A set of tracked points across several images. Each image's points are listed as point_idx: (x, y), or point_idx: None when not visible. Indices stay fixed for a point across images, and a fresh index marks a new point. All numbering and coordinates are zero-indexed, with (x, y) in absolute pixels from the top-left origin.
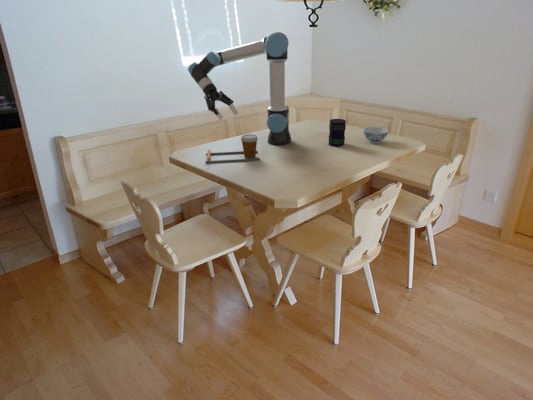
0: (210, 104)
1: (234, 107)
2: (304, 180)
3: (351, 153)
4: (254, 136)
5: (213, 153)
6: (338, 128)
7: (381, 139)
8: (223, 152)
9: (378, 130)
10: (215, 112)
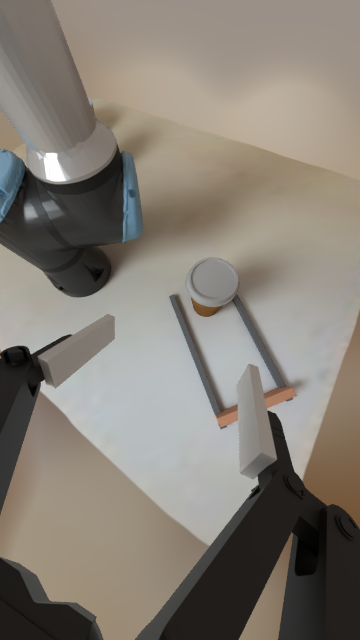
0: (354, 598)
1: (76, 333)
2: (299, 190)
3: (149, 156)
4: (203, 266)
5: (217, 404)
6: None
7: None
8: (203, 376)
9: None
10: (280, 435)
